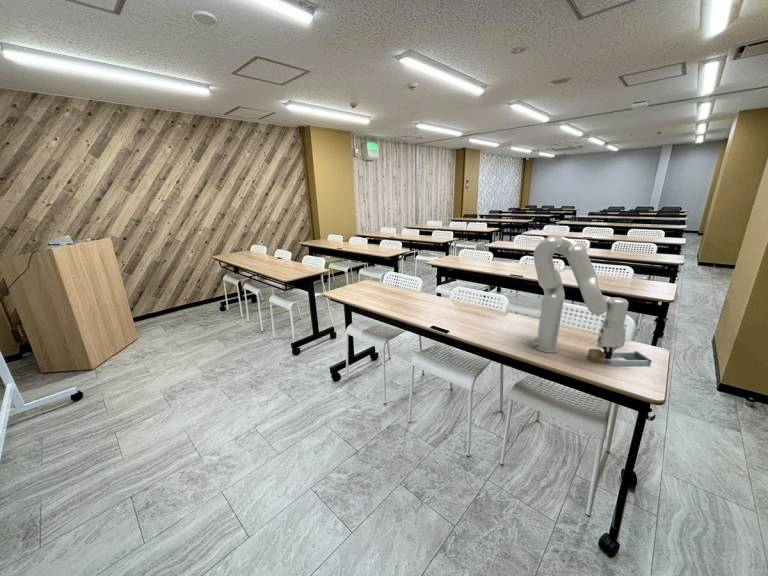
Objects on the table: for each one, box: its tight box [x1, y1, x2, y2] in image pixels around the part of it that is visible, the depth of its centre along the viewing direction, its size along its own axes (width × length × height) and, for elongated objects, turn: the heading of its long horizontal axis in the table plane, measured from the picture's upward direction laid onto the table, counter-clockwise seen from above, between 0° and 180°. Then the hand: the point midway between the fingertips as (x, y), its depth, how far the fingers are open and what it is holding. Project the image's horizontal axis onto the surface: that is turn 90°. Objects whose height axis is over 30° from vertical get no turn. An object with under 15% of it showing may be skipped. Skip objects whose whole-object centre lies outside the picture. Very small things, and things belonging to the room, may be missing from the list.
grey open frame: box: [602, 350, 652, 367], centre depth 146 cm, size 18×9×3 cm, turn 88°
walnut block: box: [586, 348, 606, 364], centre depth 147 cm, size 5×5×5 cm
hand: (606, 357), depth 146 cm, fingers closed
